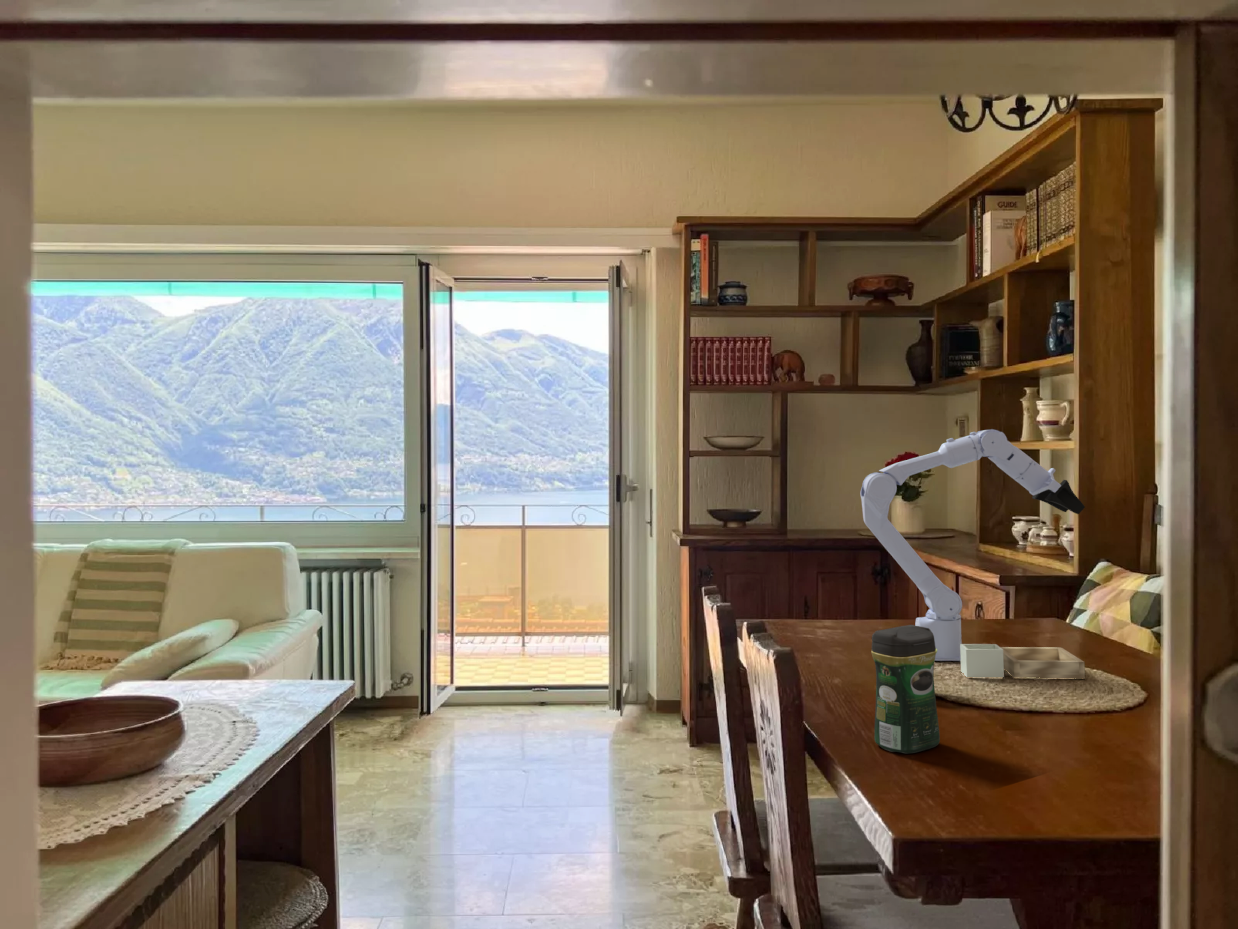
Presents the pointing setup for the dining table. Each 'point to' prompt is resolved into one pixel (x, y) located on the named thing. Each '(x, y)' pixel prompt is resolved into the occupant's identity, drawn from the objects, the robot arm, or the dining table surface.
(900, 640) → the coffee jar
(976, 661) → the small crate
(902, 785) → the dining table surface
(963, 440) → the robot arm
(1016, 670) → the wooden tray
